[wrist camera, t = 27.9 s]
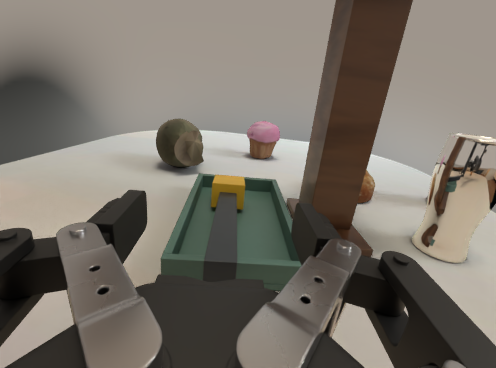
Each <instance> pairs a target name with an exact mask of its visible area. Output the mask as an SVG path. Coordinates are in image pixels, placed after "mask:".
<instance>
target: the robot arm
mask: <svg viewBox="0 0 496 368" xmlns="http://www.w3.org/2000/svg"><path fill="white" fill-rule="evenodd" d="M146 225H147V201H146V193H145V191H139V190H128V191H127V192H126V193H125V194H124V195H123V196H122V197H121V198H117V199H114V200H112V201H110V202H108V203H107V204H106V205H105V206H104V207H103V208H101V209H100V210H99V211H98V212H97V213H96V214H95V215H94V216H92V217H91V218H90V219H89V220H88V221H87V222H83V223H75V224H71V225H68V226H66V227H64V228H62V229H60V230H59V231H58V232H57V234H56V237H52V238H43V239H33V236H32V232H31V230H29V229H25V228H12V229H7V230H2V231H0V346H1V345H2V344H3V343H4V342H5V340H6V339H7V338H8V337H9V336H10V334H11V333H12V332H13V331H14V330H15V328H16V327H17V326H18V325H19V324H20V323H21V321H22V320H23V319H24V318H25V317H26V315H27V314H28V313H29V312H30V311H31V309H32V308H33V307H34V306H35V305H36V304H37V302H38V301H39V300H40V299H41V298H42V296H43V295H44V293H50V292H56V291H61V290H67V294H68V299H69V303H70V308H71V313H72V317H73V322H74V325H72V326H71V327H69V328H68V329H66V330H64V331H63V332H61V333H60V334H58V335H56V336H55V337H53V338H52V339H50V340H48V341H47V342H45V343H44V344H42V345H40V346H39V347H37V348H36V349H34V350H32V351H31V352H29V353H28V354H26V355H24V356H23V357H21V358H20V359H18V360H16V361H15V362H13V363H12V364H10V365H8V366H7V367H5V368H364V367H363V366H362V365H361V364H360V363H359V362H358V361H357V360H355V359H354V358H353V357H352V356H351V355H350V354H349V353H348V352H347V351H345V350H344V349H343V348H342V347H341V346H340V345H339V344H338V343H337V342H335V341H334V340H333V339H332V335H333V333H334V330H335V328H336V326H337V324H338V321H339V319H340V317H341V314H342V312H343V310H344V308H345V305H346V303H349V304H352V305H356V306H359V307H363V308H365V310H366V312H367V314H368V316H369V318H370V320H371V322H372V324H373V326H374V328H375V330H376V332H377V334H378V336H379V338H380V340H381V342H382V344H383V346H384V348H385V350H386V352H387V354H388V356H389V358H390V360H391V362H392V364H393V366H394V368H496V346H495V345H494V344H493V343H492V342H491V341H490V339H489V338H488V337H487V336H486V335H485V334H484V333H483V332H482V331H481V330H480V329H479V328H478V327H477V326H476V325H475V324H474V323H473V321H472V320H471V319H470V318H469V317H468V316H467V315H466V314H465V313H464V312H463V311H462V310H461V309H460V308H459V307H458V306H457V304H456V303H455V302H454V301H453V300H452V299H451V298H450V297H449V296H448V295H447V294H446V293H445V292H444V291H443V290H442V289H441V288H440V286H439V285H438V284H437V283H436V282H435V281H434V280H433V279H432V278H431V277H430V276H429V275H428V274H427V273H426V272H425V271H424V269H423V268H422V267H421V266H420V265H419V264H418V263H417V262H416V261H415V260H413V259H412V258H410V257H408V256H406V255H404V254H402V253H398V252H394V251H386V252H384V253H383V254H382V256H381V259H380V260H378V259H374V258H370V257H366V256H363V255H361V250H360V248H359V247H358V246H357V245H355V244H354V243H352V242H350V241H347V240H344V239H342V238H341V237H340V235H339V234H338V232H337V231H336V229H334V227H333V225H332V224H331V222H330V221H329V219H328V218H327V217H326V216H324V215H323V214H321V213H317V212H316V210H315V208H314V207H313V205H312V204H311V203H297V204H296V207H295V212H294V218H293V223H292V229H291V237H292V241H293V244H294V247H295V249H296V252H297V255H298V258H299V260H300V263H301V267H300V268H299V270H298V271H297V272H296V273H295V274H294V276H293V277H292V278H291V279H290V281H289V282H288V283H287V284H286V285H285V287H284V288H283V289H282V290H281V291H280V293H277V292H275V291H273V290H270V289H267V288H264V283H263V280H255V279H232V280H224V281H217V282H207V281H203V280H199V279H195V278H191V277H187V276H176V275H158V276H157V279H156V281H155V283H150V284H145V285H142V286H139V287H136V288H135V287H134V285H133V284H132V282H131V280H130V278H129V276H128V274H127V272H126V270H125V268H124V266H123V263H124V261H125V260H126V258H127V257H128V255H129V254H130V252H131V251H132V249H133V247H134V246H135V244H136V243H137V241H138V240H139V238H140V237H141V235H142V234H143V232H144V230H145V228H146ZM405 306H406V308H407V311H408V316H409V317H408V316H407V314H406V313H405V311H404V308H405Z"/></svg>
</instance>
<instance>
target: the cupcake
mask: <svg viewBox="0 0 496 368" xmlns="http://www.w3.org/2000/svg"><path fill="white" fill-rule="evenodd" d="M247 136H248V138H249V140H250V155H251V156H252V157H254V158H259V159H264V158H267V157H268V158H269V157H271V154H272V151H273V149H274V146H275V144H276V141H278V140H279V138H280V131H279V129H278V127H277V126H276V125H273V124H272V123H269V122H266V121H262V122H256V123H254V124H253V125H252V126H251V127H250V128H249V129H248V132H247Z"/></svg>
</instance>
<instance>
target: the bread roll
mask: <svg viewBox="0 0 496 368" xmlns="http://www.w3.org/2000/svg"><path fill="white" fill-rule="evenodd" d="M374 187H375V182H374V180H373V178H372V176H371V175H370V174H369V173H368V171H367V170H366V173H365V176H364V180H363V184H362V187H361V191H360V195H359V198H358V202H357V203H364V202H367V201H369V200H370V199H371V197H372V195H373V192H374Z"/></svg>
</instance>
